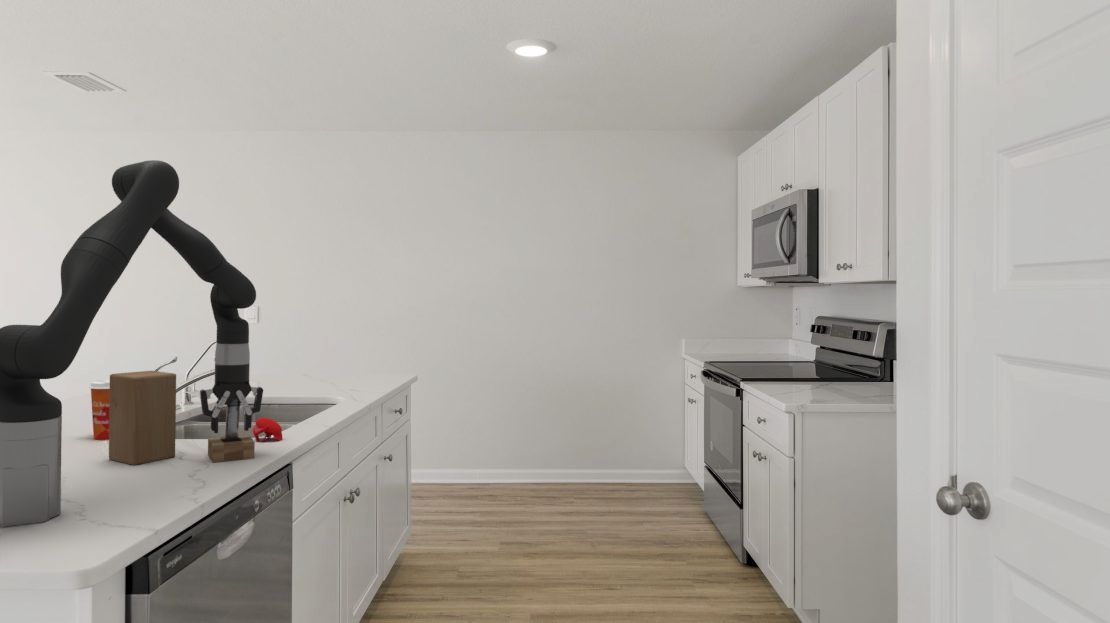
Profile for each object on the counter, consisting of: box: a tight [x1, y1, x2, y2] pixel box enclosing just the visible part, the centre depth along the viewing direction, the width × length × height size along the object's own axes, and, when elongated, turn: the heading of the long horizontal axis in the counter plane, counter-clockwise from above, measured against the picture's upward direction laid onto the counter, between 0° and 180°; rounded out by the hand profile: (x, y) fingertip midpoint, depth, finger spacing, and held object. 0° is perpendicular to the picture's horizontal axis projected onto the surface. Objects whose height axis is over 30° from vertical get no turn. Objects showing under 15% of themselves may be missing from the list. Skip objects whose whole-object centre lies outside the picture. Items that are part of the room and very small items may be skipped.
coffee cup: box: [88, 379, 110, 441], centre depth 177 cm, size 8×8×15 cm
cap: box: [252, 417, 283, 442], centre depth 180 cm, size 8×6×6 cm
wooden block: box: [108, 370, 177, 466], centre depth 157 cm, size 10×10×20 cm
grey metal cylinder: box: [224, 399, 241, 442], centre depth 161 cm, size 3×3×14 cm
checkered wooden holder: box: [207, 434, 256, 463], centre depth 161 cm, size 9×9×4 cm
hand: (231, 431), depth 161 cm, fingers open, 6 cm apart
